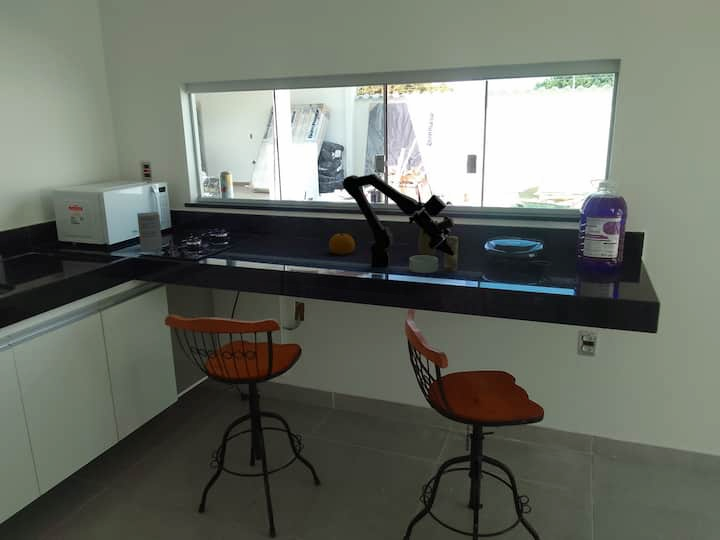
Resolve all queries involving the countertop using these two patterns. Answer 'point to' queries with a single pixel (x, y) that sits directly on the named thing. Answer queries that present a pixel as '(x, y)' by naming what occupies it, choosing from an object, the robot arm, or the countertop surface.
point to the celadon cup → (423, 264)
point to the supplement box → (149, 231)
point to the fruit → (341, 244)
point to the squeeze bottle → (425, 244)
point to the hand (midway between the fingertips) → (454, 253)
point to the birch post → (449, 260)
